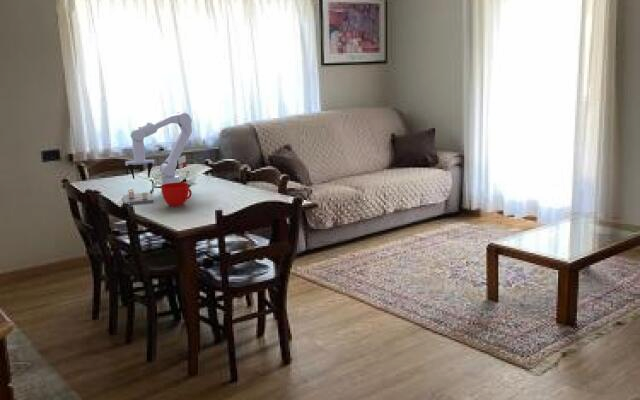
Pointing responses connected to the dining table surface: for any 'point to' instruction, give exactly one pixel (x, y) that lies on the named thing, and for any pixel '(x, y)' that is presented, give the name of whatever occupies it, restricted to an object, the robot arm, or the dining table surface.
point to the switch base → (138, 199)
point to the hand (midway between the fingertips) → (141, 178)
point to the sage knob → (144, 195)
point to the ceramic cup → (175, 193)
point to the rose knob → (131, 194)
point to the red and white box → (181, 162)
